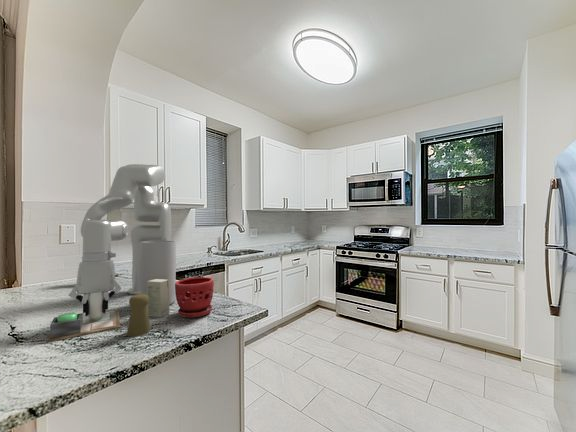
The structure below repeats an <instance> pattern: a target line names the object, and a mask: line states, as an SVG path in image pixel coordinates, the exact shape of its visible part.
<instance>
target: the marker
mask: <svg viewBox="0 0 576 432" xmlns="http://www.w3.org/2000/svg"><path fill="white" fill-rule="evenodd" d="M87 300H88V303H89V307H88V317H89V318H90V321H97V320H100V319H101V318H102V315H103V300H104V293H103V292H100V291H99V290H93V292H92V293H89V294H88V298H87Z"/></svg>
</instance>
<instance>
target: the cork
mask: <svg viewBox="0 0 576 432" xmlns="http://www.w3.org/2000/svg"><path fill="white" fill-rule="evenodd" d="M148 303H149V297H148V295H146V294H133V295H131V297H130V298H129V300H128V305H129V306H130V312H129V319H128V326H127V333H126V336H128V337H139V336H144V335H146V334H148V333H149V332H150V331H151V328H150V318H149V316H148V310H147V304H148Z"/></svg>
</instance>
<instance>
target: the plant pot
mask: <svg viewBox="0 0 576 432" xmlns="http://www.w3.org/2000/svg"><path fill="white" fill-rule="evenodd" d="M213 297H214V278H211V277H204V276H203V277H199V276H198V277H190V278H184V279H180V280H178V281H176V282H175V301H176V303H177V305H178V307H179V309H178V310H177V313H178V314H179V315H180V316H182V317H183V318H186V319H187V318H199V317H203V316H205V315H207V314H209V313H210V312H211V311H212V310H213V305H212V304H211V303H212V301H213Z"/></svg>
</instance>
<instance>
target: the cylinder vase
mask: <svg viewBox="0 0 576 432" xmlns="http://www.w3.org/2000/svg"><path fill="white" fill-rule="evenodd" d="M176 264H177V241H176V240H170V241H145V242H142V252H141V294H146V295H147V281H150V280H154V279H166V280H169V306H171V305H172V304H174V303H175V301H176V294H175V283H176V282H177V281H176V276H177V275H176V273H177V271H176V268H177V265H176Z"/></svg>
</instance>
